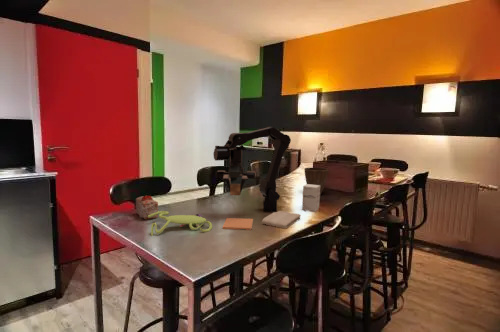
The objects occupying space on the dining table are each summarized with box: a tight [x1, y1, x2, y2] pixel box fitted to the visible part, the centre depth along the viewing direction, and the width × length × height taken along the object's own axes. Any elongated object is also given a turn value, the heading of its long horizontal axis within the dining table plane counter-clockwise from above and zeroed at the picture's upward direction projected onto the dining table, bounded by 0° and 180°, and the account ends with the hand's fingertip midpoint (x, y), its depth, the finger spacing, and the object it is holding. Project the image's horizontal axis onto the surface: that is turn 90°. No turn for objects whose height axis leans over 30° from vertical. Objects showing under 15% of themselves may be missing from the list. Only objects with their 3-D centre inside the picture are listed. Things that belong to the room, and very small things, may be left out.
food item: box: [135, 195, 159, 220], centre depth 137 cm, size 14×8×10 cm, turn 40°
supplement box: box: [301, 183, 321, 213], centre depth 152 cm, size 7×7×13 cm
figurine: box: [148, 210, 213, 236], centre depth 124 cm, size 18×27×6 cm
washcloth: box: [261, 210, 302, 229], centre depth 133 cm, size 12×18×3 cm, turn 150°
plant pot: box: [304, 167, 329, 195], centre depth 188 cm, size 15×15×16 cm
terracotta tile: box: [222, 217, 254, 231], centre depth 127 cm, size 12×12×1 cm
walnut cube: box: [229, 183, 242, 196], centre depth 141 cm, size 5×5×5 cm
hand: (235, 192), depth 141 cm, fingers closed on walnut cube, 5 cm apart
